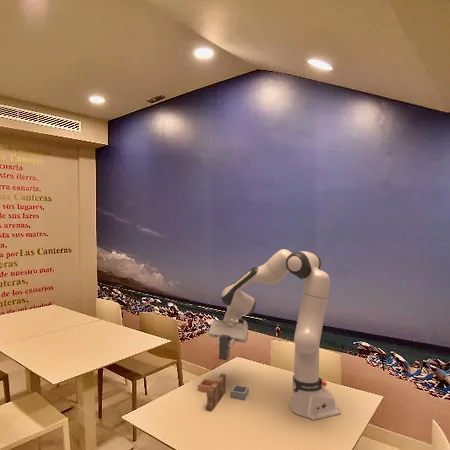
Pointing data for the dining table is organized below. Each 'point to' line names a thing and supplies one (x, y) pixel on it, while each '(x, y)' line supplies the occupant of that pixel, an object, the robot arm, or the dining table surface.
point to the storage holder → (239, 392)
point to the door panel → (216, 392)
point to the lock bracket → (205, 385)
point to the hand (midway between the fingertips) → (224, 347)
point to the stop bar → (224, 347)
